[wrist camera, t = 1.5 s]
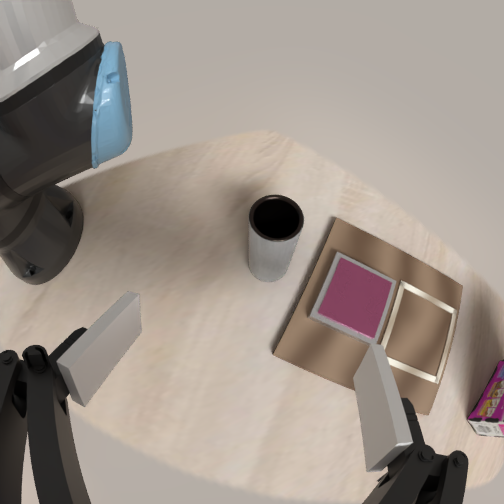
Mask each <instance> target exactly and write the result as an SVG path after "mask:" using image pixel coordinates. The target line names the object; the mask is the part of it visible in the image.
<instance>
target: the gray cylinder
mask: <svg viewBox="0 0 504 504" xmlns="http://www.w3.org/2000/svg"><path fill="white" fill-rule="evenodd" d="M303 224H304V216H303V213H302V210H301V208H300V207H299V206H298V204H297V203H296V202H294V201H293V200H292V199H290V198H288V197H285V196H282V195H268V196H265V197H262V198H260V199H259V200H257V201H256V202H255V203H254V204H253V205H252V207H251V209H250V212H249V268H250V271H251V273H252V274H253V275H254V276H255V277H256V278H257V279H259V280H261V281H265V282H273V281H276V280H279V279H280V278H282V277H283V276H284V274H285V273H286V271H287V269H288V267H289V264H290V261H291V258H292V256H293V253H294V250H295V247H296V245H297V242H298V239H299V236H300V233H301V230H302V228H303Z"/></svg>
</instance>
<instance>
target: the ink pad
mask: <svg viewBox="0 0 504 504" xmlns="http://www.w3.org/2000/svg"><path fill="white" fill-rule="evenodd" d="M395 285H396V281H395V280H393V279H391V278H389V277H387V276H385V275H383V274H381V273H379V272H378V271H376V270H374V269H372V268H370V267H368V266H366V265H364V264H362V263H360V262H358V261H356V260H353V259H351V258H349V257H347V256H345V255H343V254H341V253H339V252H337V253H336V254H335V256H334V258H333V260H332V263H331V265H330V268H329V270H328V272H327V275H326V277H325V279H324V282H323V284H322V286H321V289H320V291H319V293H318V296H317V298H316V300H315V302H314V304H313V307H312V309H311V311H310V313H309V315H308V318H309V319H311V320H313V321H315V322H317V323H319V324H321V325H324V326H326V327H328V328H330V329H332V330H334V331H336V332H339V333H341V334H343V335H345V336H347V337H350V338H352V339H354V340H356V341H358V342H361V343H363V344H365V345H367V346H370V344H376V343H377V341H378V338H379V335H380V332H381V329H382V327H383V324H384V321H385V318H386V315H387V312H388V308H389V305H390V302H391V299H392V295H393V292H394V289H395Z"/></svg>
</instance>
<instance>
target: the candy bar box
mask: <svg viewBox="0 0 504 504" xmlns="http://www.w3.org/2000/svg"><path fill="white" fill-rule="evenodd" d="M467 421H468V422H469V424H470V425H471V426H472V428H473V429H474V431H475V433H476V434H477V435H481V436H492V437H504V360H502V361H499V363H498V365H497V367H496V369H495V371H494V373H493V375H492V377H491V379H490V381H489V383H488V385H487V387H486V389H485V391H484V392H483V394H482V396H481V398H480V400H479V401H478V403H477V405H476V406H475V408H474V410H473V411H472V413H471V414H470V416H469V417H468V419H467Z"/></svg>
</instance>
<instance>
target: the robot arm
mask: <svg viewBox="0 0 504 504" xmlns="http://www.w3.org/2000/svg"><path fill="white" fill-rule="evenodd" d="M131 140H132V116H131V104H130V95H129V86H128V78H127V70H126V63H125V57H124V53H123V50H122V45H121V43H119V42H111V41H110V42H107V43H106V44H105V45H104V44H103V43H102V39H101V37H100V33H99V30H98V28H96V27H93V26H90V25H86V24H83V23H80V22H79V21H78V19H77V18H76V14H75V11H74V7H73V3H72V0H0V256H1V258H2V259H3V260H4V262H5V263H6V265H7V266H8V267H9V269H10V270H11V272H12V273H13V274H14V275H15V276H16V277H18V278H19V279H21V280H23V281H24V282H26V283H29V284H33V285H38V284H42V283H45V282H47V281H49V280H51V279H52V278H54V277H55V276H56V275H57V274H59V273H60V272H61V271H62V269H63V268H64V267H65V266H66V265H67V263H68V262H69V260H70V259H71V257H72V256H73V254H74V252H75V250H76V248H77V245H78V243H79V240H80V237H81V233H82V227H83V215H82V210H81V207H80V205H79V203H78V202H77V201H76V200H75V198H74V197H73V196H72V195H71V194H70V193H69V192H68V191H67V190H65V189H63V188H61V187H59V186H57V185H55V184H57V183H59V182H61V181H63V180H65V179H68V178H70V177H72V176H74V175H76V174H79V173H81V172H83V171H85V170H87V169H90V168H92V167H93V168H94V169H95V168H97V167H98V166H99V164H101V163H103V162H105V161H108V160H110V159H112V158H115V157H117V156H119V155H121V154H123V153H124V152H125V151H126V150H127V149H128V147H129V145H130V143H131ZM141 332H142V327H141V313H140V294H138V293H134V292H131V291H127V292H126V293H125V294H124V295H123V296H122V297H121V298H120V299H119V300H118V301H117V302H116V303H115V304H114V305H112V306H111V307H110V308H109V309H108V310H107V311H106V312H105V313H104V314H103V315H102V316H101V317H100V318H99V319H98V320H97V321H96V322H95V323H94V324H93V325H92V326H91V327H90V328H89V329H86V328H84V327H82V328H80V329H77V330H75V331H74V332H73V333H72V334H71V335H70V336H69V337H68V338H66V339H65V340H64V342H63V343H61V344H60V345H59V346H58V347H57V348H56V349H55V350H54V351H53V352H52V353H51V354H50V355H49V356H48V354H47V351H46V350H45V348H44V347H42V346H40V345H32V346H29V347H28V348H26V349H25V350H24V351H23V354H22V357H23V359H24V361H23V360H20V359H19V357H18V355H17V353H16V352H15V351H13V350H6V351H3V352H2V353H0V504H21V491H22V472H23V461H24V452H25V445H26V438H27V432H28V437H29V447H30V456H31V464H32V470H33V476H34V481H35V486H36V490H37V495H38V499H39V503H40V504H91V502H90V499H89V496H88V493H87V490H86V487H85V483H84V480H83V476H82V473H81V469H80V465H79V461H78V457H77V453H76V449H75V444H74V439H73V434H72V428H71V423H70V416H69V409H68V402H67V399H66V397H67V396H68V395H69V393H70V395H71V398H72V400H73V401H75V402H76V403H78V404H80V405H82V406H84V407H85V406H86V405H87V404H88V402H89V401H90V400H91V398H92V397H93V395H94V394H95V393H96V391H97V390H98V389H99V387H100V386H101V385H102V383H103V382H104V381H105V379H106V378H107V377H108V375H109V374H110V373H111V371H112V370H113V369H114V367H115V366H116V365H117V363H118V362H119V361H120V359H121V358H122V357H123V355H124V354H125V353H126V352H127V350H128V349H129V348H130V346H131V345H132V344H133V342H134V341H135V340H136V339H137V337H138V336H139V335H140V333H141ZM353 380H354V386H355V391H356V397H357V403H358V410H359V416H360V423H361V430H362V437H363V445H364V453H365V462H366V472H378V471H382V470H383V469H384V468H385V467H386V466H387V467H388V472H387V473H386V474H385V475H383V476H382V477H381V478H380V479H378V480H377V481H378V482H379V481H380V480H381V481H380V482H379V483H378V485H377V486H376V487H375V489H374V490H373V491H372V492H371V494H370V495H369V496H368V497H367V499H366V500H365V501H364V502H363V503H362V504H462V502H463V497H464V492H465V486H466V479H467V472H468V458H467V456H466V454H465V453H464V452H462V451H457V450H456V451H454V452H452V453H451V454H450V455H449V456H445V455H440V454H436V453H435V451H434V450H433V448H431V447H430V446H428V445H426V444H425V442H424V439H423V435H422V432H421V429H420V425H419V422H418V421H417V420H418V419H417V416H416V415H415V414H416V412H415V409H414V406H413V404H412V403H411V402H410V400H409V399H408V398H400V394H399V391H398V388H397V385H396V382H395V379H394V376H393V373H392V370H391V367H390V364H389V361H388V358H387V356H386V353H385V350H384V347H383V345H378V344H370V346H369V348H368V350H367V352H366V354H365V356H364V358H363V360H362V362H361V364H360V366H359V368H358V370H357V371H356V373H355V375H354V377H353Z"/></svg>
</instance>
